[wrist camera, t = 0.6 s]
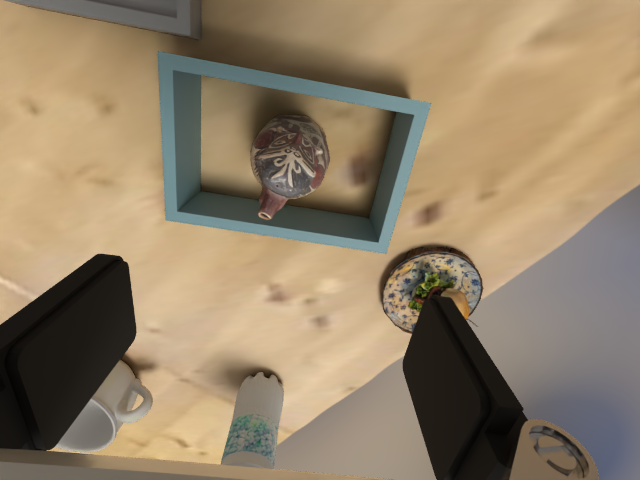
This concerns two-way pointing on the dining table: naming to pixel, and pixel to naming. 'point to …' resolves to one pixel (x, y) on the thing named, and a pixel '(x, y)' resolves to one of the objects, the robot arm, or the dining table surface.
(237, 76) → the tub
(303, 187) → the figurine
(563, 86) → the dining table surface
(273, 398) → the bottle
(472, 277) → the burger
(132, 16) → the tray
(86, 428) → the teacup
